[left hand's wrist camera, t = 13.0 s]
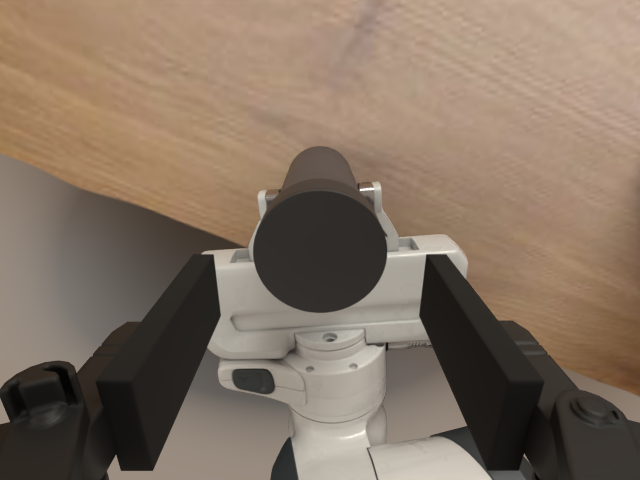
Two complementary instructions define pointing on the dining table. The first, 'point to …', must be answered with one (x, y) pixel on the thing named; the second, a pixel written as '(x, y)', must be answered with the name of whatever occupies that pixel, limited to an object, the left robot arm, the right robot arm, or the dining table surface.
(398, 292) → the right robot arm
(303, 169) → the bottle
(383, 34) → the dining table surface
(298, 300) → the lid
